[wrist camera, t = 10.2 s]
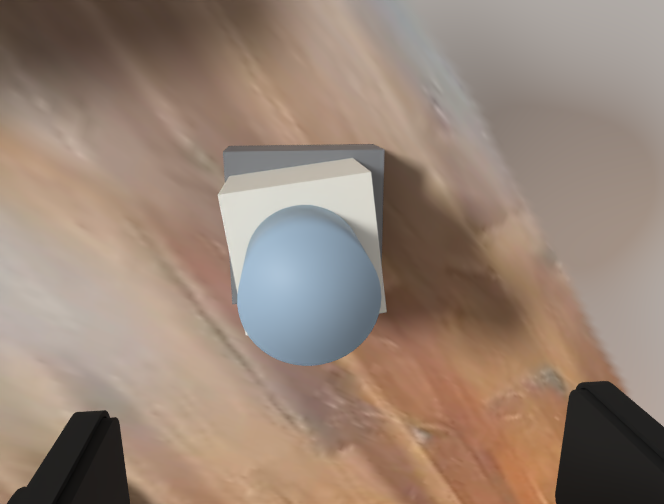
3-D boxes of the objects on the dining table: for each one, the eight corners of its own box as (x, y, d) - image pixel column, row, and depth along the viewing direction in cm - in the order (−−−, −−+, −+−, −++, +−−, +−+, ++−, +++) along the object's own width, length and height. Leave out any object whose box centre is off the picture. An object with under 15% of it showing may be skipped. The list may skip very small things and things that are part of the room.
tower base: (369, 276, 36) (380, 298, 32) (237, 281, 35) (232, 304, 31) (372, 143, 33) (384, 149, 30) (229, 145, 33) (223, 151, 29)
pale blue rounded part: (361, 313, 26) (380, 361, 21) (248, 318, 25) (241, 369, 20) (362, 203, 24) (382, 228, 19) (242, 206, 24) (232, 233, 19)
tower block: (366, 273, 32) (386, 312, 26) (251, 292, 31) (245, 335, 26) (352, 157, 30) (371, 171, 24) (229, 176, 29) (217, 194, 23)
